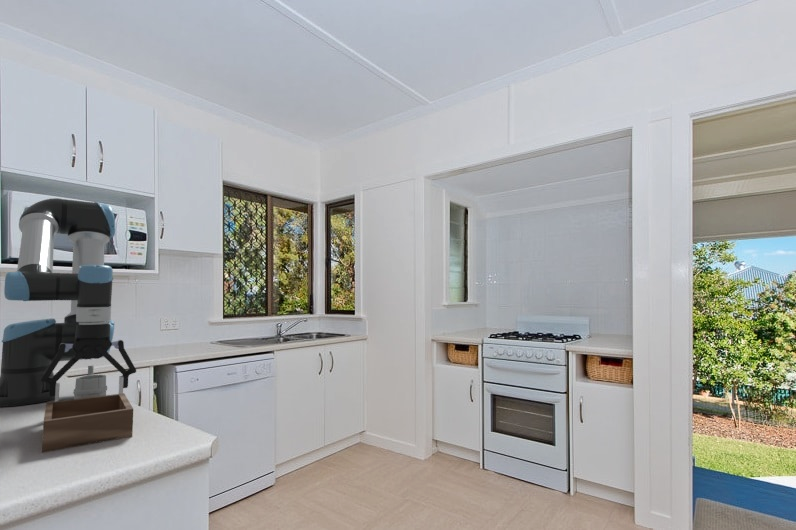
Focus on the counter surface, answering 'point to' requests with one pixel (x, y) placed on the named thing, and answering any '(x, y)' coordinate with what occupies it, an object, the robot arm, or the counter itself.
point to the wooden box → (86, 421)
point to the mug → (90, 385)
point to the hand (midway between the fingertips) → (89, 404)
